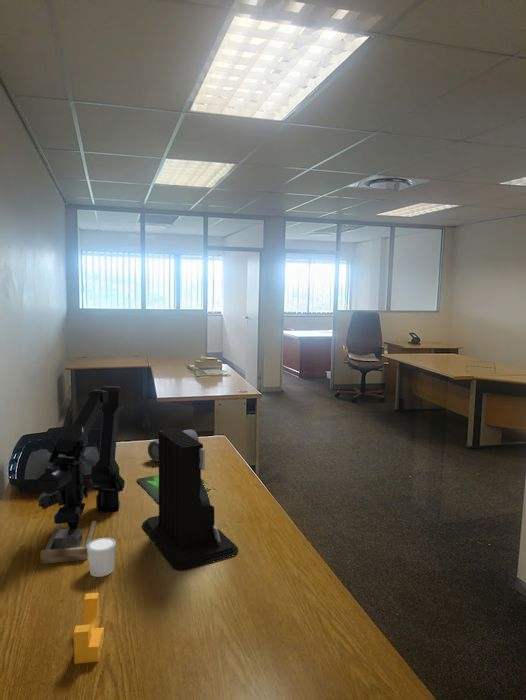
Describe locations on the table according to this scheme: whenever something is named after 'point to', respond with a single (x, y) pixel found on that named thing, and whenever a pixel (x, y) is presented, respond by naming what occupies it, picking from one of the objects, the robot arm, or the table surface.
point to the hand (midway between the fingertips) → (73, 532)
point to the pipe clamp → (89, 632)
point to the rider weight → (68, 538)
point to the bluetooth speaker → (154, 445)
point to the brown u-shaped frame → (66, 549)
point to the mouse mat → (155, 486)
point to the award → (185, 506)
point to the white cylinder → (101, 556)
